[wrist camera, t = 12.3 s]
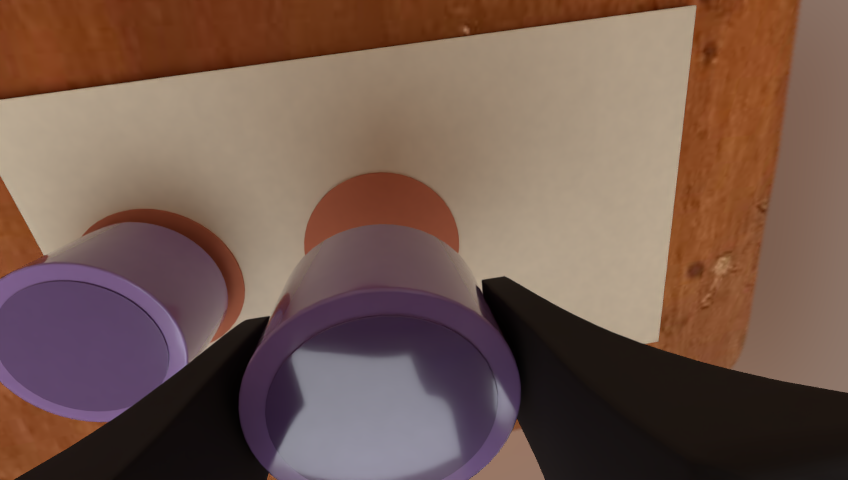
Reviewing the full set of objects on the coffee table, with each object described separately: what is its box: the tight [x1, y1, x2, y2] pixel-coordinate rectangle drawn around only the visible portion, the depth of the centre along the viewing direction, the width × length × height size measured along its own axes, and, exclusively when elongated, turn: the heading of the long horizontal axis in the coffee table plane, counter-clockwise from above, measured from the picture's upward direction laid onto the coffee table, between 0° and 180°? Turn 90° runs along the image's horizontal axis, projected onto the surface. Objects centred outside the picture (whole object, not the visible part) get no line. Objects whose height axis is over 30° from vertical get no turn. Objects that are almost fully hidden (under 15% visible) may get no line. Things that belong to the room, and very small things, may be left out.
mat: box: [0, 5, 696, 350], centre depth 15 cm, size 24×14×1 cm, turn 97°
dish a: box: [0, 222, 228, 422], centre depth 13 cm, size 5×5×4 cm
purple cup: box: [238, 224, 521, 480], centre depth 9 cm, size 5×5×4 cm
